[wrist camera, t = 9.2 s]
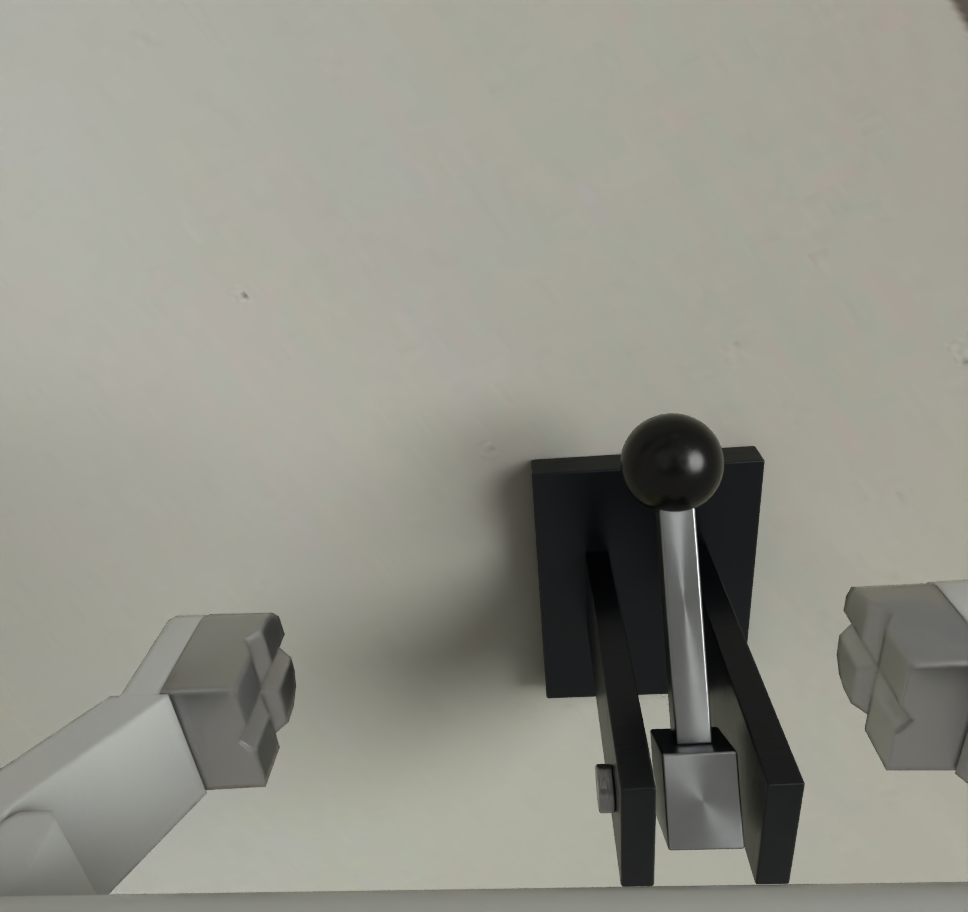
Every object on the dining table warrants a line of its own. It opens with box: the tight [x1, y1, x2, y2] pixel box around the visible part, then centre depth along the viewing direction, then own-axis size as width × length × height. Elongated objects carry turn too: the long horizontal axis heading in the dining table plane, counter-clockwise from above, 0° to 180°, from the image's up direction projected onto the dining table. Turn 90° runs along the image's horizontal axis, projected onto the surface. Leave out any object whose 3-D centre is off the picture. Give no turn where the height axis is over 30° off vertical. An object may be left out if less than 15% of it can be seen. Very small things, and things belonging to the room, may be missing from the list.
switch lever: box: [620, 413, 744, 850], centre depth 23 cm, size 13×3×3 cm, turn 5°
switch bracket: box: [531, 446, 805, 887], centre depth 27 cm, size 12×9×13 cm
